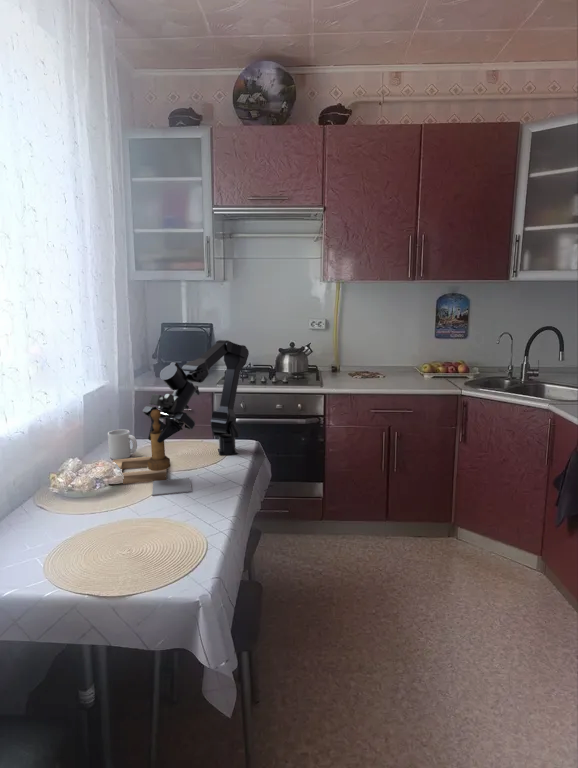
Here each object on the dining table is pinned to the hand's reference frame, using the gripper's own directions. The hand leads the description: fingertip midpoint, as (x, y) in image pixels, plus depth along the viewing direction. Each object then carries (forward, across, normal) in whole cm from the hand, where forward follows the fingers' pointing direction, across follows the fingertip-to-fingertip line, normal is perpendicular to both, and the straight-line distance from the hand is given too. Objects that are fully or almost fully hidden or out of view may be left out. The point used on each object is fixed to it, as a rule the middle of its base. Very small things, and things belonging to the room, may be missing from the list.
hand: (153, 440), depth 155 cm
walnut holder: (+8, -12, +11) cm, 18 cm away
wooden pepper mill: (+5, 0, +7) cm, 9 cm away
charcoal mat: (+9, +6, +10) cm, 15 cm away
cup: (+3, -30, +16) cm, 35 cm away
